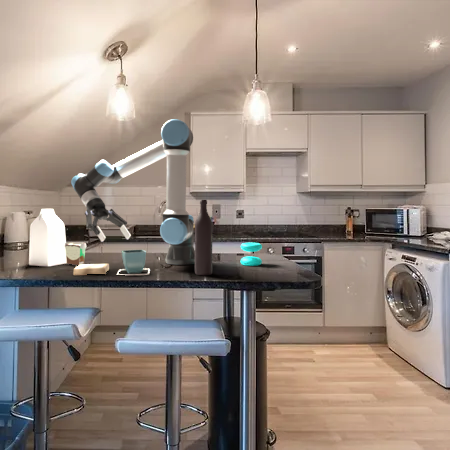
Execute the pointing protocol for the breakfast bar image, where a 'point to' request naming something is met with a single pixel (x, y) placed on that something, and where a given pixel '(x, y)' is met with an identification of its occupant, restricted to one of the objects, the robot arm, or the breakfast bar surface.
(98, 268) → the bread slice
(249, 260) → the pair of cyan ovals
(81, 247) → the food container
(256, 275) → the breakfast bar surface
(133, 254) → the flower pot
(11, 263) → the breakfast bar surface
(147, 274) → the seat outline
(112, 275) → the breakfast bar surface
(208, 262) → the wine bottle
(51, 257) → the milk
